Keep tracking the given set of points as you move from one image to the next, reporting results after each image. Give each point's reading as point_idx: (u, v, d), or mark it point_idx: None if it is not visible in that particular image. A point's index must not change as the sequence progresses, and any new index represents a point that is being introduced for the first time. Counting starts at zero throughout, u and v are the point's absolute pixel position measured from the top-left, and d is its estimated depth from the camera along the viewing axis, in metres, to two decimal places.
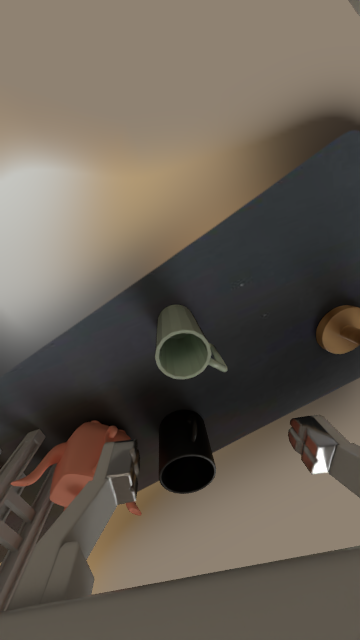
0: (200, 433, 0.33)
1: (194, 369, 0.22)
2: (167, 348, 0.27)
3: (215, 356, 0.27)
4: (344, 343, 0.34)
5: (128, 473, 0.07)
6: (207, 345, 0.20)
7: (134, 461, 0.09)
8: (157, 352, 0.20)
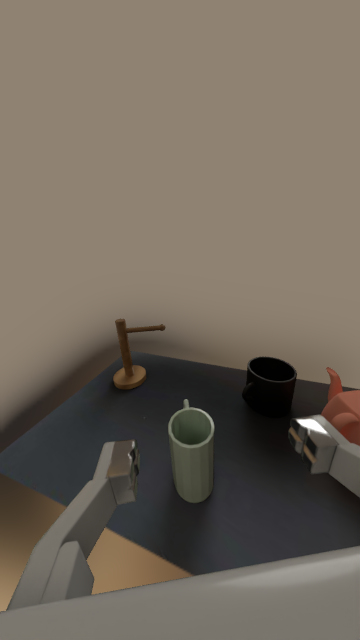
0: (247, 384, 0.41)
1: (197, 413, 0.28)
2: None
3: None
4: (136, 370, 0.54)
5: (128, 473, 0.07)
6: (173, 417, 0.27)
7: (134, 461, 0.09)
8: (202, 443, 0.23)
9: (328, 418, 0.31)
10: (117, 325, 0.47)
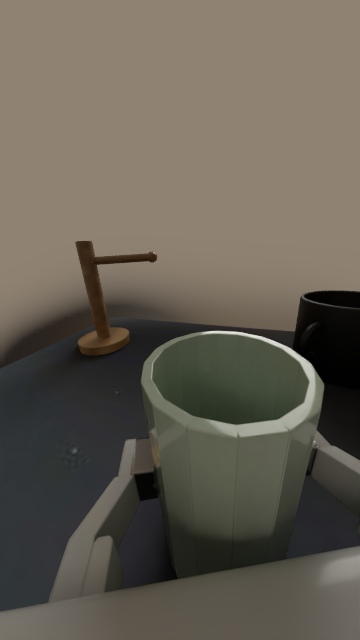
0: (302, 332, 0.23)
1: (232, 345, 0.10)
2: None
3: None
4: (115, 332, 0.36)
5: (153, 469, 0.07)
6: (161, 348, 0.09)
7: None
8: (297, 417, 0.05)
9: None
10: (78, 248, 0.29)
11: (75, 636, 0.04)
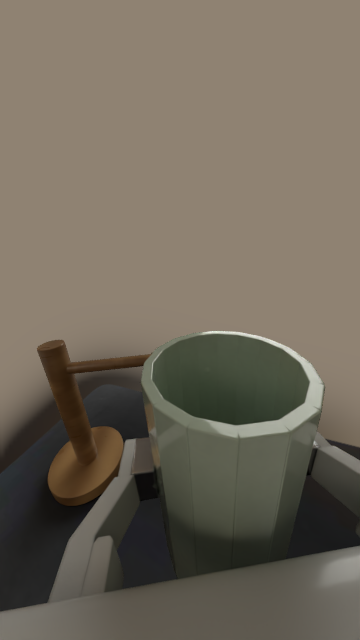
0: None
1: (232, 345, 0.10)
2: None
3: None
4: (105, 443, 0.26)
5: (153, 469, 0.07)
6: (161, 348, 0.09)
7: None
8: (297, 417, 0.05)
9: None
10: (41, 358, 0.18)
11: (75, 636, 0.04)
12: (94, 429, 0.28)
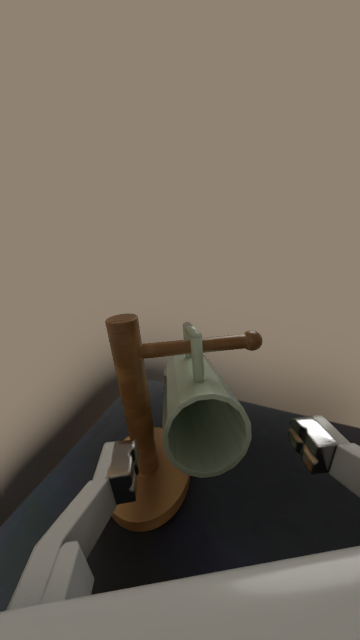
0: None
1: None
2: None
3: None
4: None
5: (128, 473, 0.07)
6: (171, 419, 0.12)
7: (134, 461, 0.09)
8: (224, 470, 0.13)
9: None
10: (112, 335, 0.14)
11: (75, 636, 0.04)
12: None
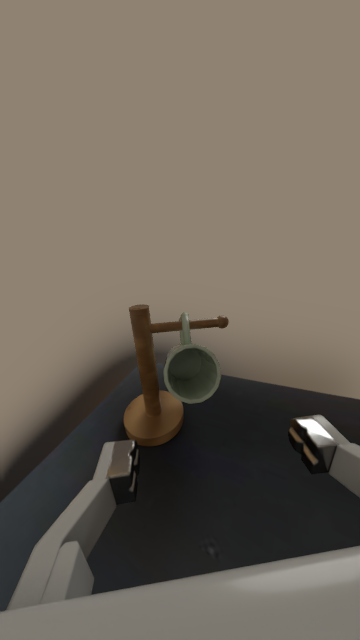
0: None
1: None
2: (206, 365, 0.26)
3: None
4: (165, 402, 0.30)
5: (128, 473, 0.07)
6: (169, 360, 0.20)
7: (134, 461, 0.09)
8: (204, 398, 0.20)
9: None
10: (134, 317, 0.22)
11: (75, 636, 0.04)
12: None
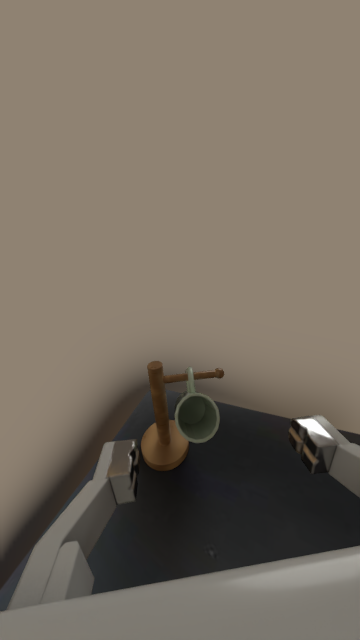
0: None
1: (202, 397, 0.27)
2: (208, 410, 0.31)
3: None
4: (173, 431, 0.37)
5: (128, 473, 0.07)
6: (179, 406, 0.26)
7: (134, 461, 0.09)
8: (207, 438, 0.25)
9: None
10: (151, 374, 0.29)
11: (75, 636, 0.04)
12: None
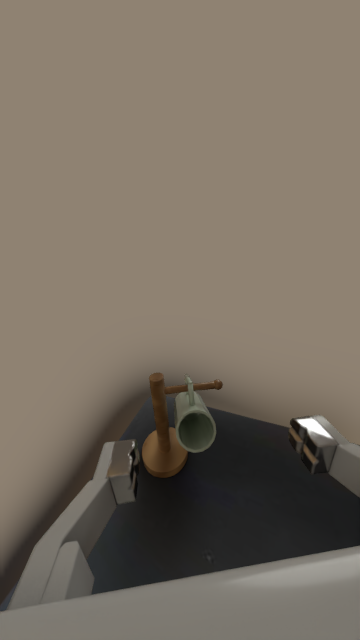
0: None
1: None
2: None
3: None
4: (173, 438, 0.38)
5: (128, 473, 0.07)
6: (179, 421, 0.28)
7: (134, 461, 0.09)
8: (204, 448, 0.28)
9: None
10: (153, 386, 0.30)
11: (75, 636, 0.04)
12: None
